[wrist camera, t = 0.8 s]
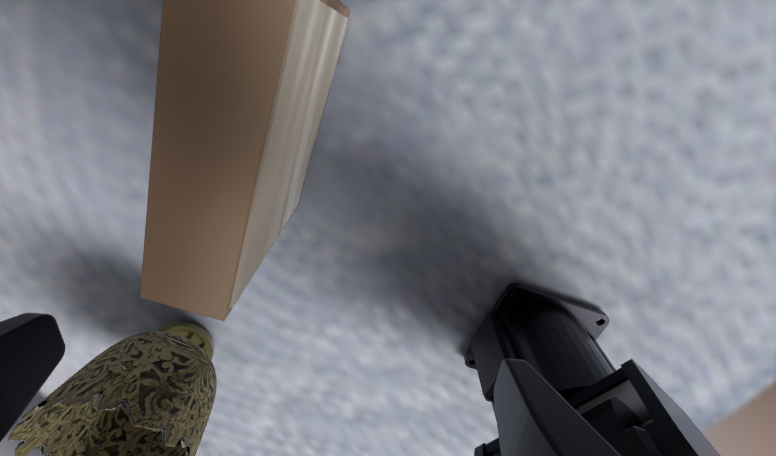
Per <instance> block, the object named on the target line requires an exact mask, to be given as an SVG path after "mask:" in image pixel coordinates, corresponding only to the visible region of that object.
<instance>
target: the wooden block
mask: <svg viewBox="0 0 776 456" xmlns="http://www.w3.org/2000/svg"><path fill="white" fill-rule="evenodd" d="M349 12H350V10H348V9H347V8H346V7H345V6H343V5H342V4H341V3H340V2H338V1H337V0H163V11H162V24H161V36H160V49H159V62H158V75H157V88H156V100H155V113H154V126H153V139H152V151H151V164H150V177H149V190H148V203H147V215H146V228H145V241H144V254H143V266H142V279H141V292H140V298H143V299H147V300H150V301H154V302H158V303H161V304H165V305H168V306H172V307H175V308H179V309H182V310H186V311H189V312H193V313H196V314H200V315H203V316H207V317H211V318H214V319H218V320H221V321H224V320H225V319H226V317H227V316H228V314H229V313H230V311H231V309H232V308H233V306H234V305H235V303H236V302H237V300H238V298H239V297H240V295H241V294H242V292H243V290H244V289H245V287H246V286H247V284H248V283H249V281H250V279H251V278H252V276H253V275H254V273H255V271H256V270H257V268H258V267H259V265H260V264H261V262H262V260H263V259H264V257H265V256H266V254H267V253H268V251H269V249H270V248H271V246H272V245H273V243H274V241H275V240H276V238H277V237H278V235H279V234H280V232H281V230H282V229H283V227H284V226H285V224H286V223H287V221H288V219H289V218H290V216H291V215H292V213H293V211H294V210H295V208H296V207H297V205H298V202H299V198H300V194H301V191H302V187H303V183H304V180H305V176H306V173H307V169H308V165H309V162H310V158H311V154H312V151H313V147H314V143H315V140H316V136H317V133H318V129H319V125H320V122H321V118H322V114H323V111H324V107H325V104H326V100H327V96H328V93H329V89H330V85H331V82H332V78H333V74H334V71H335V67H336V64H337V60H338V56H339V53H340V49H341V45H342V42H343V38H344V35H345V31H346V27H347V24H348V20H349V19H348V16H349Z"/></svg>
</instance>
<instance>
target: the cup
mask: <svg viewBox="0 0 776 456" xmlns="http://www.w3.org/2000/svg"><path fill="white" fill-rule="evenodd" d="M213 351H214V345H213V341H212V339H211V337H210V335H209V334H208V333H207V332H206V331H205V330H204V329H203V328H201V327H200V326H198V325H196V324H193V323H190V322H183V321H178V322H172V323H169V324H167V325H165V326H163V327H161V328H159V329H158V330H157V331H156V332H146V333H141V334H137V335H134V336H131V337H128V338H126V339H124V340H122V341H120V342H118V343H116V344H114V345H113V346H111V347H110V348H108V349H106V350H105V351H104V352H102V353H101V354H99V355H98V356H97V357H95V358H94V359H93V360H92V361H90V362H89V363H88V364H86V365H85V366H84V367H83V368H81V369H80V370H79V371H78V372H77V373H75V374H74V375H73V376H72V377H70V378H69V379H68V380H67V381H66V382H64V383H63V384H62V385H61V386H60V387H58V388H57V389H56V390H55V391H54V392H52V393H51V394H50V395H49V396H48V397H46V398H45V399H44V400H43V401H42V402H40V403H39V404H38V405H37V406H35V407H34V408H33V409H31V410H30V411H29V412H28V413H26V414H25V415H24V416H23V417H22V420H21V421H20V422H19V423H18V424H17V426H16V427H15V428H14V430H13V431H12V433H11V434H10V436H9V438H8V440H9V441H21V442H20V443H19V444H18V446H17V447H16V448H15V456H25V455H28V454H29V453H30V452H31V451H33V450H34V449H37V448H39V449H40V450H41V453H40V455H43V456H195V454H196V452H197V449H198V446H199V444H200V441H201V438H202V435H203V433H204V430H205V427H206V424H207V422H208V419H209V416H210V413H211V410H212V406H213V403H214V399H215V394H216V373H215V369H214V366H213V364H212V362H211V360H212V357H213ZM38 446H41V448H40V447H38ZM46 454H47V455H46Z"/></svg>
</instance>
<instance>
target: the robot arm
mask: <svg viewBox="0 0 776 456" xmlns="http://www.w3.org/2000/svg"><path fill="white" fill-rule="evenodd" d="M514 291H518V292H517V293H516V294H512V293H513V292H514ZM598 319H600V320H599V321H597V320H598ZM608 324H609V318H608V317H607V315H606V314H605V313H604V312H602V311H600V310H597V309H594V308H591V307H588V306H584V305H581V304H578V303H575V302H572V301H569V300H566V299H563V298H560V297H557V296H554V295H551V294H548V293H545V292H542V291H539V290H536V289H533V288H530V287H527V286H524V285H521V284H518V283H512V284H510V285H508V286H507V287H506V289H505V290H504V292H503V294H502V295H501V297H500V299H499V300H498V302H497V303H496V305H495V307H494V308H493V310H492V311H491V312H489V313H488V314H487V316H486V318H485V319H484V321H483V322H482V324H481V326H480V327H479V329H478V331H477V332H476V334H475V335H474V337H473V339H472V340H471V346H470V347H469V349H468V350H467V352H466V354H465V356H464V360H465V364H466V366H468V367H470V368H473V369H477V371H478V375H479V379H480V383H481V387H482V391H483V395H484V397H485V399H486V400H487V401H490V402H492V406H493V409H494V413H495V417H496V421H497V427H498V434H499V437H498V438H497V439H495V440H493V441H491V442H490V443H488V444H485V443H484V444H482V445H480V446H478V447H476V448H475V453H474V456H720V454H719V453H718V452H717V451H716V450H715V449H714V447H713V446H712V445H711V443H710V442H709V441H708V440H707V439H706V438H705V436H704V435H703V434H702V433H701V431H700V430H699V429H698V428H697V427H696V425H695V424H694V423H693V422H692V420H691V419H690V418H689V417H688V416H687V414H686V413H685V412H684V411H683V410H682V409H681V408H680V407H679V406H678V405H677V404H676V403H675V402H674V401H673V400H672V399H671V398H670V397H669V396H668V395H667V394H666V393H665V392H664V391H663V390H662V389H661V388H660V387H659V386H658V385H657V384H656V383H655V382H654V381H653V380H652V379H651V378H650V376H649V375H648V374H647V373H646V372H645V371H644V370H643V369H642V368H641V367H640V366H639V365H638V364H637V363H636V362H635V361H634V360H633V359H631V360H629V361H627V362H625V363H624V364H622V365H621V367H622V368H620V369H618V370H615V368H614V367H613V365H612V364H611V362H610V361H609V359H608V358H607V356H606V355H605V354H604V352H603V351H602V349H601V348H600V346H599V345H598V343H597V342H596V339H597V337H598V336H599V335H600V334H601V333H602V331H603V330H604V329H605V328H606V326H607V325H608ZM64 353H65V343H64V341H63V338H62V335H61V332H60V330H59V327H58V324H57V322H56V320H55V318H54V317H53V316H52V315H49V314H41V313H25V314H21V315H18V316H16V317H13V318H10V319H7V320H4V321H1V322H0V442H1V440H2V439H3V438H4V437H5V436H6V434H7V433H8V432H9V430H10V429H11V428H12V426H13V425H14V424H15V423H16V421H17V420H18V418H19V417H20V416H21V414H22V413H23V412H24V410H25V408H26V407H27V406H28V404H29V403H30V402H31V401H32V399H33V398H34V396H35V395H36V394H37V392H38V391H39V389H40V388H41V387H42V385H43V384H44V383H45V381H46V380H47V378H48V377H49V376H50V374H51V373H52V372H53V370H54V369H55V367H56V366H57V365H58V363H59V362H60V360H61V359H62V357H63V355H64ZM471 359H474V360H471Z"/></svg>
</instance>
